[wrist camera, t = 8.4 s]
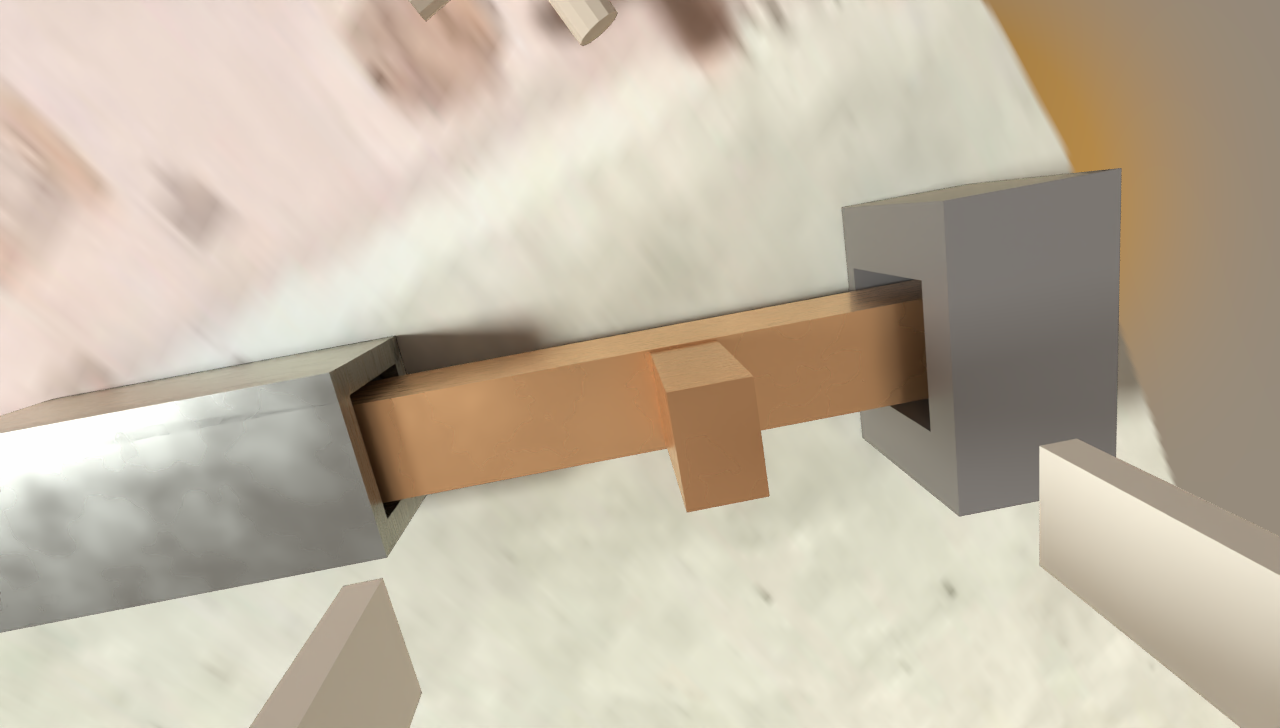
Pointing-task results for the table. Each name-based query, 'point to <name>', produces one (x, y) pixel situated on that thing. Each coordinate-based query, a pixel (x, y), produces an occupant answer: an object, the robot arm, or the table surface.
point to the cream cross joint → (575, 3)
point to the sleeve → (191, 485)
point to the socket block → (998, 327)
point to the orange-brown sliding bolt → (650, 397)
